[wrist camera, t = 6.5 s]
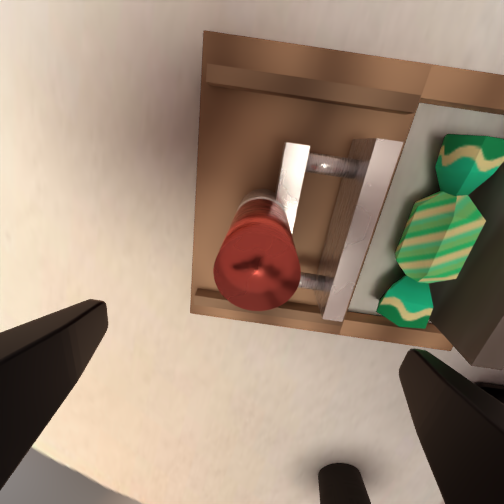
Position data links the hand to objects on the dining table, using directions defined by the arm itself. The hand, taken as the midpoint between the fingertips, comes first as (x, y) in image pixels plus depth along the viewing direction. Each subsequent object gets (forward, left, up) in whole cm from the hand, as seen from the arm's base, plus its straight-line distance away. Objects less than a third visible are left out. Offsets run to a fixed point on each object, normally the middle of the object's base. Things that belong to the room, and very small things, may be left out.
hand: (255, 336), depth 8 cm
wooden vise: (-6, -1, -12) cm, 13 cm away
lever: (-2, -1, -10) cm, 11 cm away
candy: (-11, -1, -12) cm, 17 cm away
